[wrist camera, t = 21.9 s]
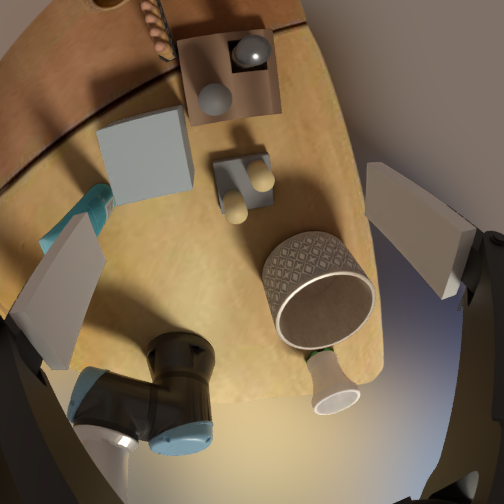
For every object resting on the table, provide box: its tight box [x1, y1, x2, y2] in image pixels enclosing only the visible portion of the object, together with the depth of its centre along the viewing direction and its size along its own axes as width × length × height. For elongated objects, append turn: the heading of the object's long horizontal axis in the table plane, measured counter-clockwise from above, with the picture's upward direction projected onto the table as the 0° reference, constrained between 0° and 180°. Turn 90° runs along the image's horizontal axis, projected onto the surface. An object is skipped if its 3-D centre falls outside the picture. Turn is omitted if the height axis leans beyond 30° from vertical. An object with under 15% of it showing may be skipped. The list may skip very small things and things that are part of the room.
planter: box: [262, 231, 376, 350], centre depth 50 cm, size 16×16×13 cm
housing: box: [96, 105, 195, 206], centre depth 36 cm, size 10×10×8 cm
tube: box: [39, 183, 116, 255], centre depth 34 cm, size 7×5×19 cm, turn 13°
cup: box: [306, 348, 360, 415], centre depth 65 cm, size 11×11×14 cm
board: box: [213, 152, 275, 224], centre depth 42 cm, size 8×8×6 cm
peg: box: [230, 35, 272, 69], centre depth 30 cm, size 4×4×10 cm
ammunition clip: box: [140, 0, 178, 62], centre depth 25 cm, size 11×2×12 cm, turn 15°
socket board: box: [177, 29, 282, 127], centre depth 31 cm, size 12×12×10 cm
